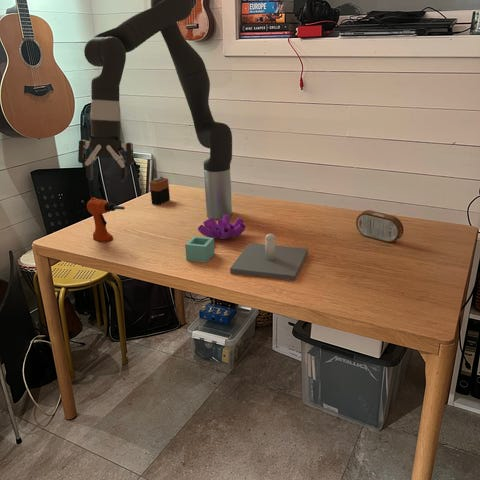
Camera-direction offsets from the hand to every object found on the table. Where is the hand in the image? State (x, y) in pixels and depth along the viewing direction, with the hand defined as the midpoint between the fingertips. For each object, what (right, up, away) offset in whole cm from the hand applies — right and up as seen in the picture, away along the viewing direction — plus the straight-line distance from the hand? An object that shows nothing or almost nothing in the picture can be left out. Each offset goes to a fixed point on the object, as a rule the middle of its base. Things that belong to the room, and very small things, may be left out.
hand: (106, 180), depth 131 cm
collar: (+24, -21, +12) cm, 35 cm away
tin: (+79, -16, +21) cm, 83 cm away
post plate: (+45, -23, +7) cm, 51 cm away
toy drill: (-5, -17, +26) cm, 31 cm away
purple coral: (+31, -15, +26) cm, 43 cm away
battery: (+5, -1, +61) cm, 62 cm away
